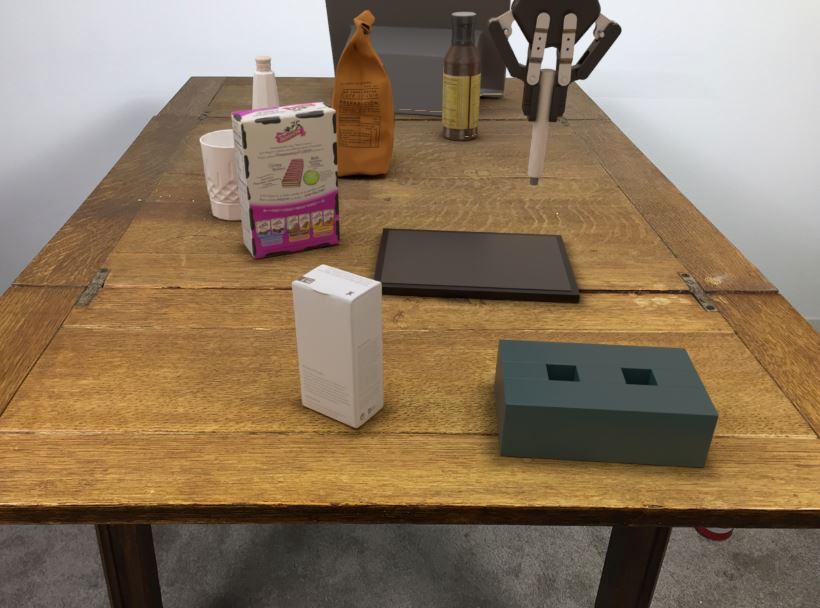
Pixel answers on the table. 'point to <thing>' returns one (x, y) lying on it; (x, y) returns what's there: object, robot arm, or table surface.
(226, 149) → the white cup
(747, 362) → the table surface
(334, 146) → the candy bar box
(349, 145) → the coffee package
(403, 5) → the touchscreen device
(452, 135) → the sauce bottle
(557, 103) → the robot arm
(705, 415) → the pen stand
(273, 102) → the salt shaker
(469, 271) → the tablet
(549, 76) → the stylus
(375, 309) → the cosmetic box
